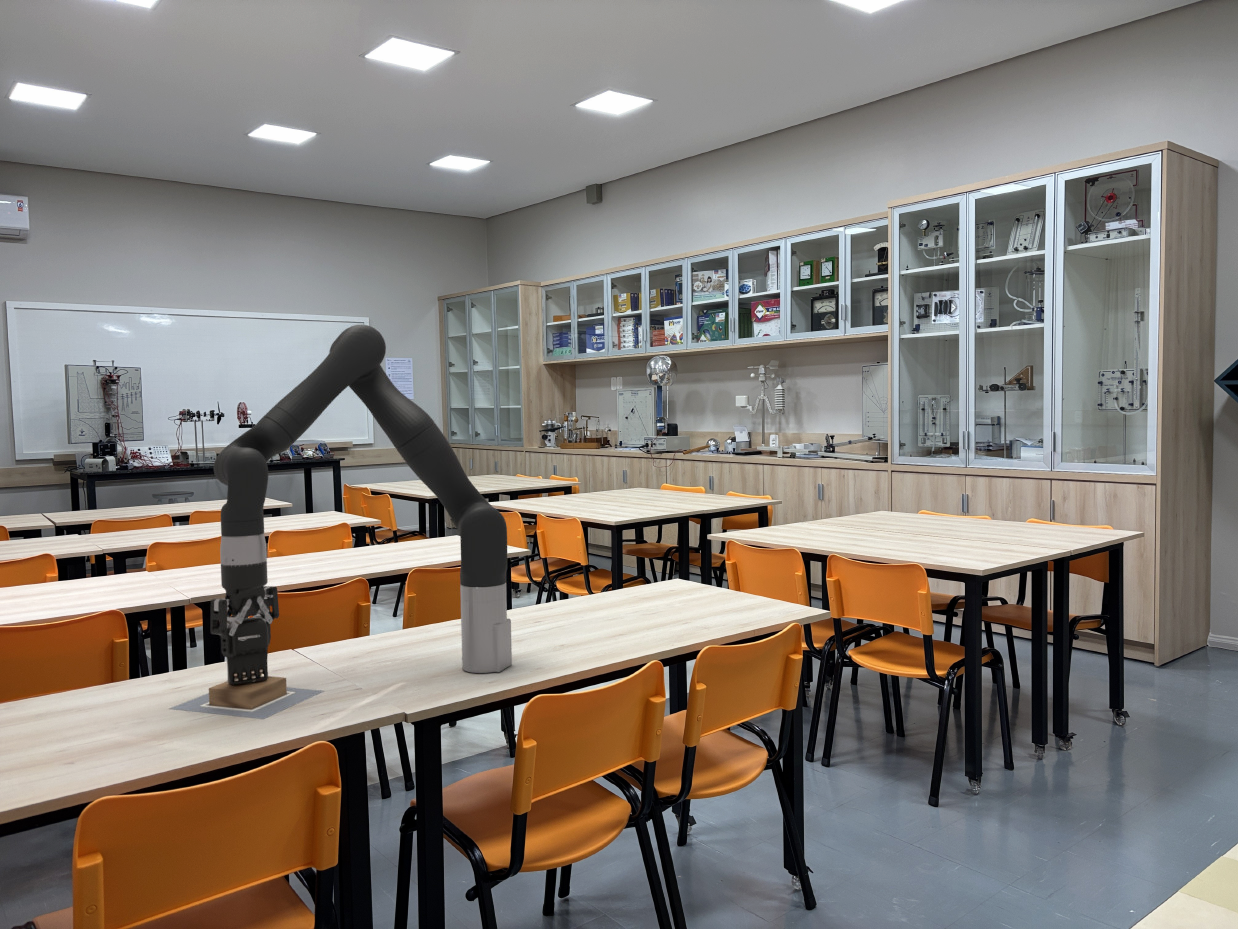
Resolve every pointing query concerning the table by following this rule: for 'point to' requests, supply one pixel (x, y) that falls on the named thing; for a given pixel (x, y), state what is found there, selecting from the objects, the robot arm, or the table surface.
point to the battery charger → (249, 653)
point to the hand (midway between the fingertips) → (247, 650)
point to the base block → (247, 693)
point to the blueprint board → (259, 712)
